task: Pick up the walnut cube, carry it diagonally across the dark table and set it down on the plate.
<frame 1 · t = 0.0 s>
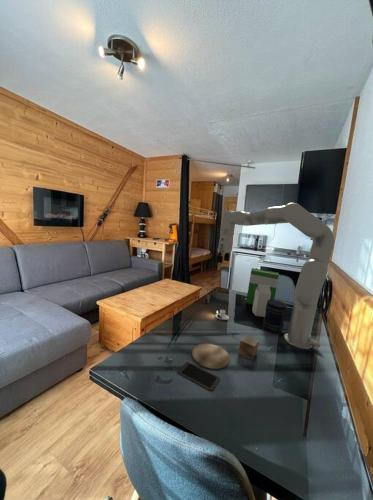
hand: (222, 261, 127), 31 cm above the table, fingers open, 9 cm apart
milk carton: (259, 314, 136), on the table
walnut cube: (247, 353, 92), on the table
cell phone: (198, 377, 76), on the table
plate: (210, 356, 87), on the table
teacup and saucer: (218, 319, 124), on the table
storage jar: (271, 329, 117), on the table
hardback book: (259, 304, 153), on the table
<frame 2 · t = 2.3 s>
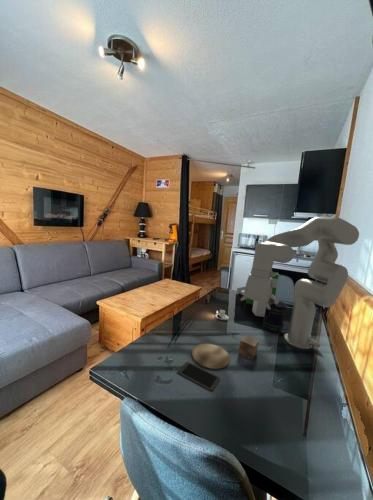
hand: (254, 313, 90), 18 cm above the table, fingers open, 9 cm apart
nothing on the table moved.
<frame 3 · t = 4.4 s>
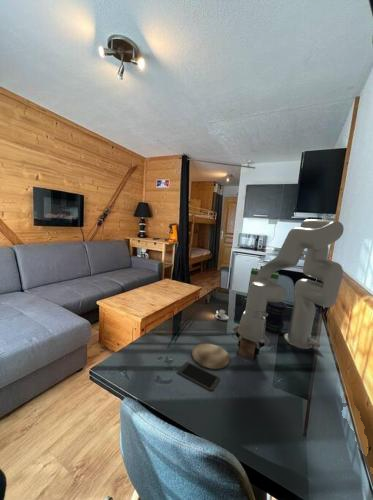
hand: (247, 351, 92), 1 cm above the table, fingers closed on walnut cube, 6 cm apart
walnut cube: (247, 353, 92), on the table, touching gripper
everything else where it was.
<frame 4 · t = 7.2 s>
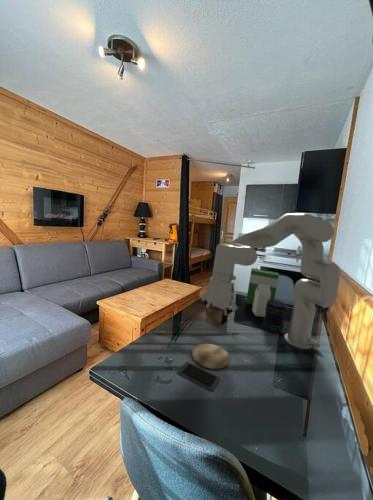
hand: (215, 320, 85), 15 cm above the table, fingers closed on walnut cube, 6 cm apart
walnut cube: (215, 322, 85), point 15 cm above the table, touching gripper
everything else where it was.
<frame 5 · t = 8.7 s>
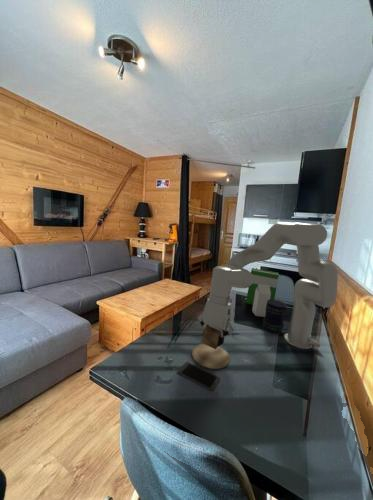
hand: (212, 341, 86), 7 cm above the table, fingers closed on walnut cube, 6 cm apart
walnut cube: (212, 342, 87), point 6 cm above the table, touching gripper
everything else where it was.
when the fingers open (3 cm above the table, at t = 9.9 s): walnut cube drops 1 cm, resting on plate.
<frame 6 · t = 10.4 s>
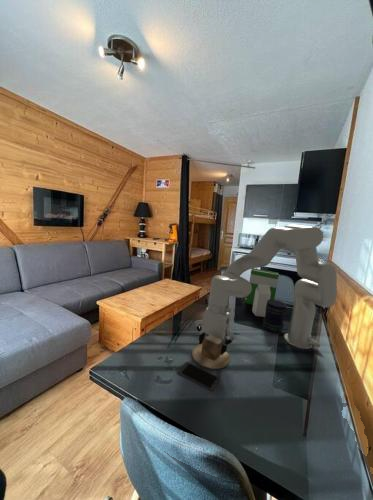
hand: (211, 347, 87), 4 cm above the table, fingers open, 9 cm apart
walnut cube: (211, 354, 87), point 1 cm above the table, touching plate
everything else where it was.
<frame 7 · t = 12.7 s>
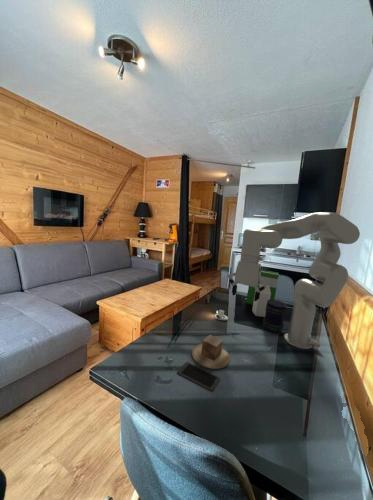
hand: (244, 297, 94), 23 cm above the table, fingers open, 9 cm apart
nothing on the table moved.
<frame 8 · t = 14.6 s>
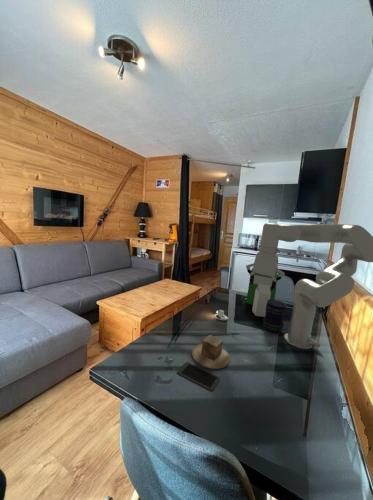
hand: (261, 286, 101), 26 cm above the table, fingers open, 9 cm apart
nothing on the table moved.
at the end: walnut cube 0.1 cm from the plate (horizontally); walnut cube tilted 0°; the gripper is holding nothing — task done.
